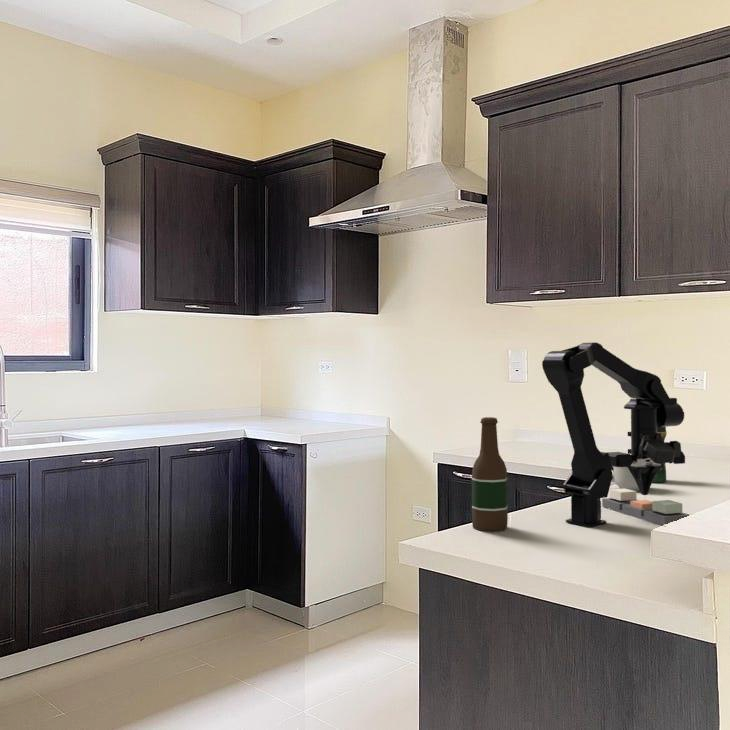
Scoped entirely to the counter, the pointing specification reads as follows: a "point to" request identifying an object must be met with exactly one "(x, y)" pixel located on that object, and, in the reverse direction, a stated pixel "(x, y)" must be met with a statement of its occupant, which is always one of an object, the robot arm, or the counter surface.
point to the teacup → (624, 478)
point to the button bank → (642, 512)
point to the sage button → (667, 506)
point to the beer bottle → (489, 483)
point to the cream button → (623, 494)
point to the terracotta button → (641, 504)
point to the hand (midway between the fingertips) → (644, 494)
